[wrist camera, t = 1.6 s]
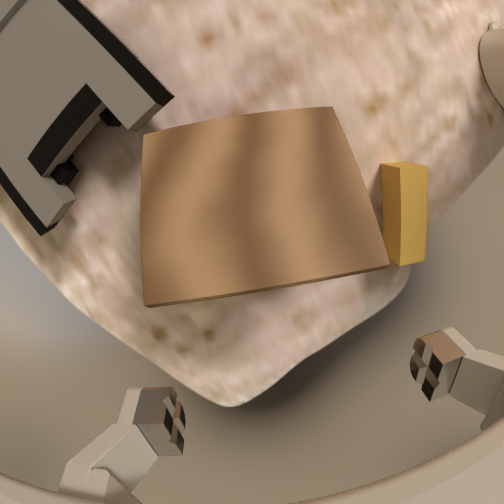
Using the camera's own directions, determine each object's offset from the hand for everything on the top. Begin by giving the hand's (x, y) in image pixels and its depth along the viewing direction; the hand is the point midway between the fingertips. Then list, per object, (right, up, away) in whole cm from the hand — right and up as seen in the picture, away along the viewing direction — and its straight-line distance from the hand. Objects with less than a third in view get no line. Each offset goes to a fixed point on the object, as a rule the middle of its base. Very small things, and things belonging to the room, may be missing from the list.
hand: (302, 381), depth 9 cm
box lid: (-2, +8, +13) cm, 16 cm away
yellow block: (+17, +10, +28) cm, 34 cm away
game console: (-28, +26, +18) cm, 42 cm away
